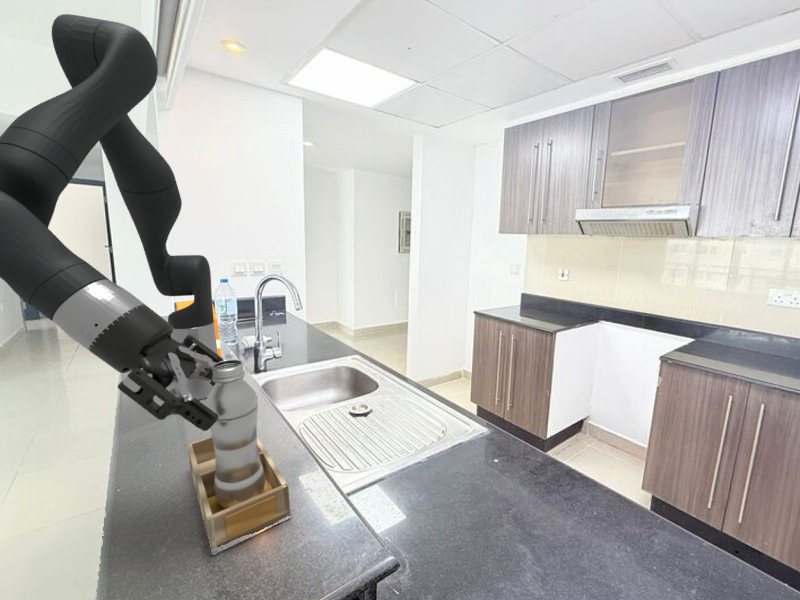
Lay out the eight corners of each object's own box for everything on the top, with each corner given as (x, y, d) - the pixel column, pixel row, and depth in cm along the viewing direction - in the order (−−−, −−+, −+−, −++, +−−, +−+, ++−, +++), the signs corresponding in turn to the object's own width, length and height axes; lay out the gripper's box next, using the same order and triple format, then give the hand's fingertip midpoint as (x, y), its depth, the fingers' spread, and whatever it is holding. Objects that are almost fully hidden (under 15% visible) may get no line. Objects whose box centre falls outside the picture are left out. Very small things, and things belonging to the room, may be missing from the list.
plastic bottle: (251, 477, 54) (238, 352, 51) (276, 497, 50) (264, 362, 46) (207, 502, 50) (189, 365, 46) (230, 526, 45) (213, 378, 42)
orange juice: (182, 367, 103) (173, 300, 99) (215, 360, 109) (208, 296, 105) (187, 376, 97) (178, 304, 94) (222, 367, 103) (215, 299, 99)
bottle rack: (190, 471, 58) (187, 443, 57) (252, 450, 64) (249, 424, 63) (212, 558, 43) (207, 522, 42) (291, 519, 48) (288, 487, 47)
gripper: (94, 317, 36) (225, 414, 39) (167, 293, 50) (260, 366, 53) (47, 370, 36) (180, 461, 40) (132, 331, 50) (226, 401, 54)
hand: (226, 407), depth 47 cm, fingers open, 8 cm apart
